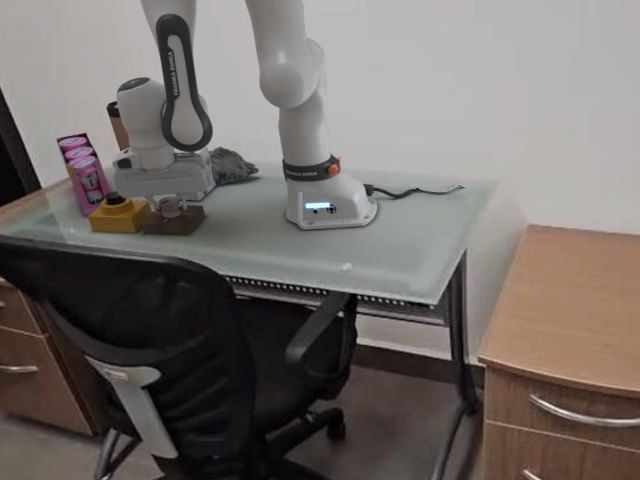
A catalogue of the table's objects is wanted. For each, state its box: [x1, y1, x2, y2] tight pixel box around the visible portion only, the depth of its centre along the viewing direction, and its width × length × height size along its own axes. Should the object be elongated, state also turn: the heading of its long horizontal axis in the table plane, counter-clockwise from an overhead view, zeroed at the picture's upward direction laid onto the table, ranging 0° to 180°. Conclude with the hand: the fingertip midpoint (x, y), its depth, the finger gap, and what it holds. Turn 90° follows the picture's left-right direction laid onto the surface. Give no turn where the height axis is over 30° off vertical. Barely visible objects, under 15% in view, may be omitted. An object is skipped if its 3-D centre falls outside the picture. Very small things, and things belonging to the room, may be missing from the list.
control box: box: [86, 197, 153, 234], centre depth 148 cm, size 11×9×6 cm
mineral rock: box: [208, 146, 260, 185], centre depth 165 cm, size 13×11×10 cm
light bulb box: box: [175, 146, 217, 202], centre depth 160 cm, size 11×7×11 cm, turn 170°
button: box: [105, 190, 125, 205], centre depth 146 cm, size 4×4×2 cm
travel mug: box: [105, 100, 130, 152], centre depth 168 cm, size 8×8×20 cm
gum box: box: [56, 132, 112, 216], centre depth 158 cm, size 24×8×14 cm, turn 31°
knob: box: [158, 195, 182, 218], centre depth 145 cm, size 4×4×4 cm
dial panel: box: [141, 204, 206, 236], centre depth 147 cm, size 11×10×3 cm
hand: (171, 210), depth 146 cm, fingers closed on knob, 4 cm apart
